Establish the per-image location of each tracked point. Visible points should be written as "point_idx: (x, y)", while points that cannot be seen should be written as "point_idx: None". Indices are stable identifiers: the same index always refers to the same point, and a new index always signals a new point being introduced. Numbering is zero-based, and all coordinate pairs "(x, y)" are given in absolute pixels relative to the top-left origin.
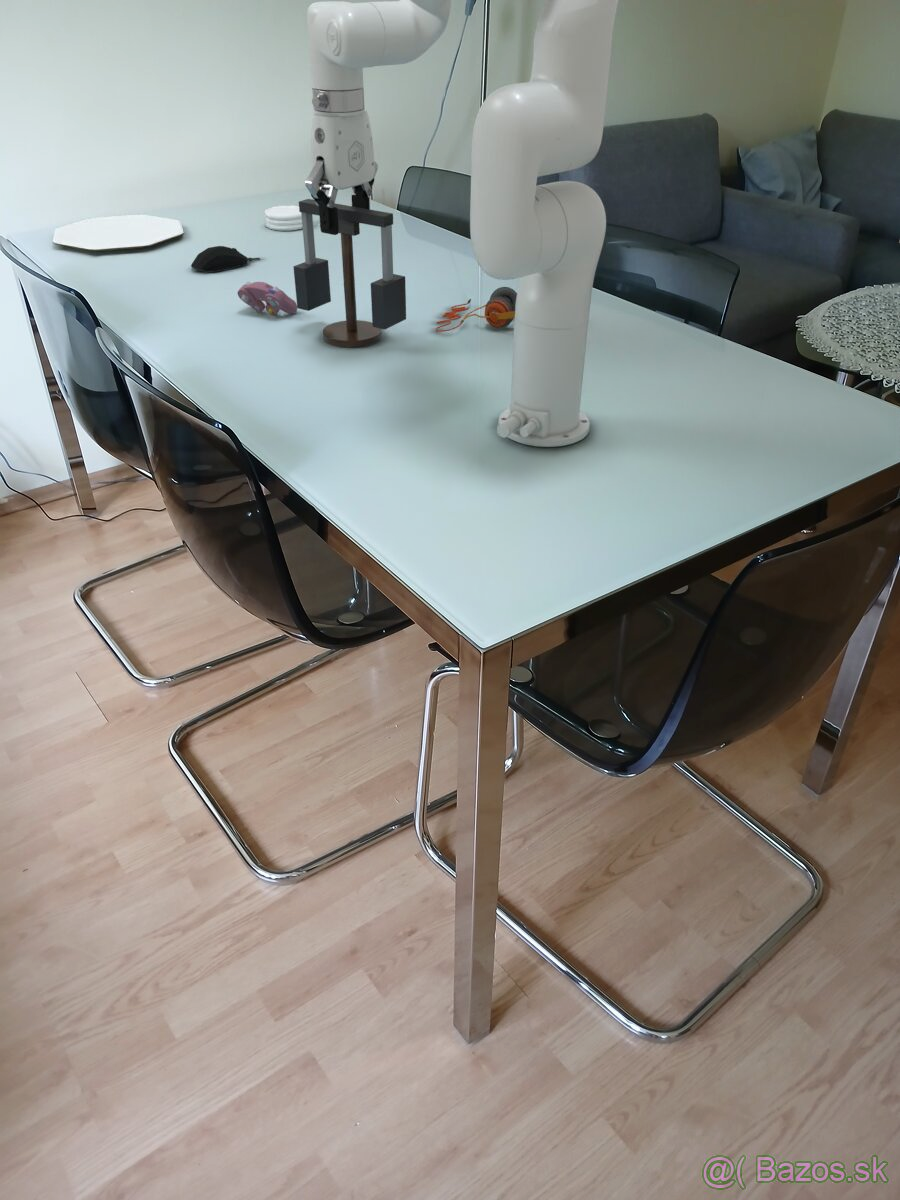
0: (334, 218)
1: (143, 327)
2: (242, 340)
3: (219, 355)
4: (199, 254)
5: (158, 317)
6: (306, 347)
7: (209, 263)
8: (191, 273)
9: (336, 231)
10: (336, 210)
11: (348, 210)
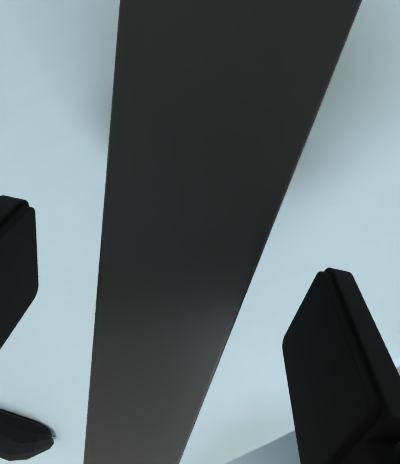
0: (380, 349)
1: (277, 412)
2: (291, 295)
3: (371, 298)
4: (28, 458)
5: (234, 412)
6: (297, 182)
7: (37, 438)
8: (60, 438)
9: (352, 280)
10: (390, 392)
11: (228, 332)
